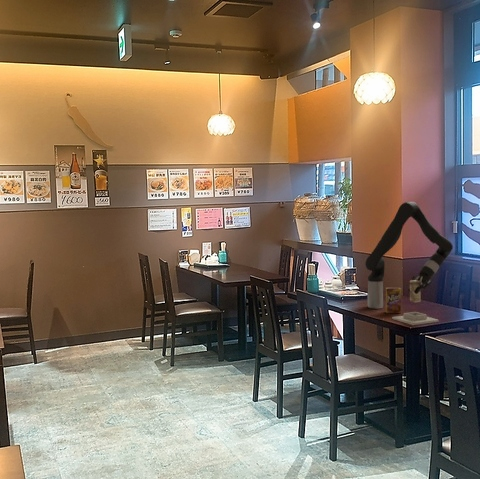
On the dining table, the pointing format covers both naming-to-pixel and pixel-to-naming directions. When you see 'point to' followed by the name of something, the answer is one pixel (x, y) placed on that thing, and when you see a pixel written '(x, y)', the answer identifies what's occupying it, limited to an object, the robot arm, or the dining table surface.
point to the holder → (415, 318)
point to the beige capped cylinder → (413, 286)
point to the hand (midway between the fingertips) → (412, 292)
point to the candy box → (393, 300)
